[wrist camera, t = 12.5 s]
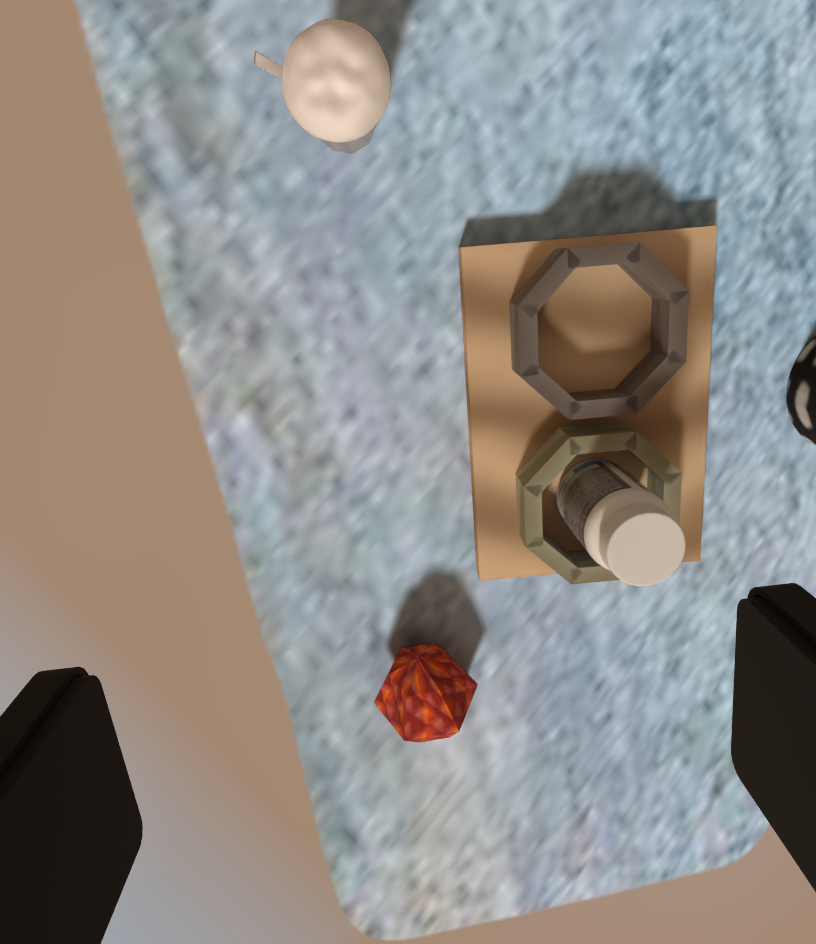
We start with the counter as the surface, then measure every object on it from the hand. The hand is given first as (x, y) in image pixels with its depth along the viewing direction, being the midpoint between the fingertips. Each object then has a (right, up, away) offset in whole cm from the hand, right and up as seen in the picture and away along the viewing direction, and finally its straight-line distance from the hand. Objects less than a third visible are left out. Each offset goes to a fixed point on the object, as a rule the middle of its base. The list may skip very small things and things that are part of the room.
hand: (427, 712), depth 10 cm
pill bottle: (+11, +2, +32) cm, 34 cm away
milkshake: (-4, +22, +26) cm, 35 cm away
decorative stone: (+1, -10, +37) cm, 38 cm away
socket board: (+10, +7, +31) cm, 34 cm away
